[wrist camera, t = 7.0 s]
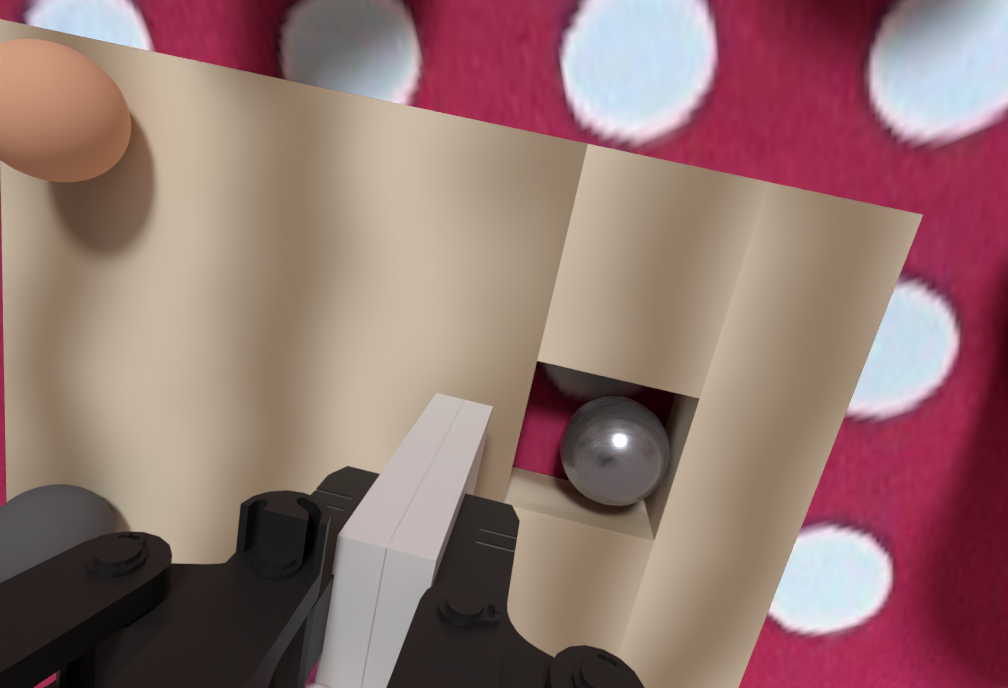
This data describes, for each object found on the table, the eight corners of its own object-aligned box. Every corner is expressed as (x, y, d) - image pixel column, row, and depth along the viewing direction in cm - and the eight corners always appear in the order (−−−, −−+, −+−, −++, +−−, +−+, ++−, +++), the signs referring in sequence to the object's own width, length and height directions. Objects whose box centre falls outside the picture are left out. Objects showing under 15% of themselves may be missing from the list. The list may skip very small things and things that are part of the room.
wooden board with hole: (69, 504, 22) (7, 542, 19) (76, 43, 18) (-2, 18, 15) (704, 665, 20) (722, 727, 18) (870, 212, 16) (922, 215, 14)
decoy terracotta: (48, 170, 16) (-77, 163, 13) (48, 45, 15) (-85, 6, 12) (156, 195, 16) (57, 193, 13) (163, 70, 15) (58, 36, 12)
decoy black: (46, 542, 19) (-54, 608, 16) (46, 455, 18) (-59, 507, 15) (138, 565, 19) (54, 637, 16) (142, 479, 18) (55, 537, 15)
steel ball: (660, 539, 16) (644, 485, 19) (695, 434, 15) (672, 396, 18) (547, 511, 16) (550, 462, 19) (575, 405, 15) (573, 372, 18)
